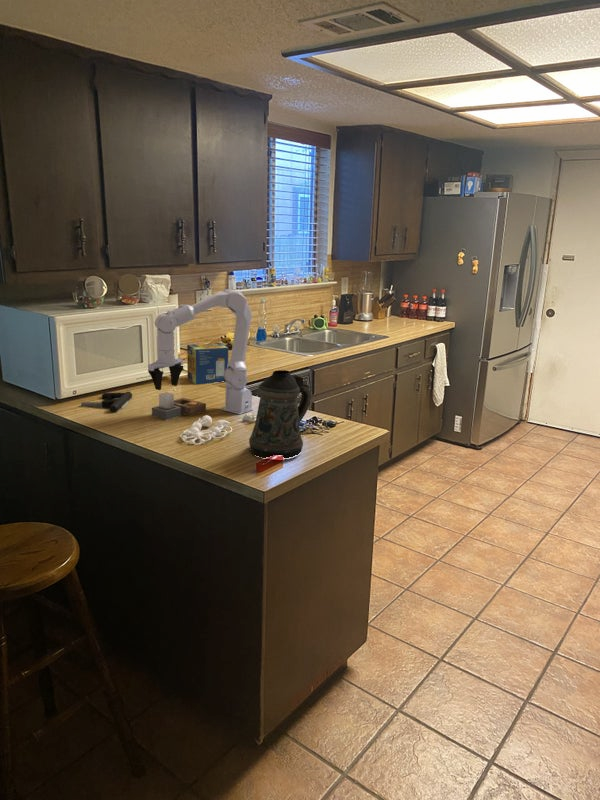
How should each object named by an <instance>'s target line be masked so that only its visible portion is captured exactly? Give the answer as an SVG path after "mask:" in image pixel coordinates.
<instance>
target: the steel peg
mask: <svg viewBox="0 0 600 800" xmlns="http://www.w3.org/2000/svg"><path fill="white" fill-rule="evenodd" d="M174 394H175V393H171V392H167V391H166V392H165V391H164V392H162V393H159V394H158V406H159V408H160V409H163V410H170V409H173V408H174V400H175V395H174Z"/></svg>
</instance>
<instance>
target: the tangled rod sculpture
mask: <svg viewBox="0 0 600 800" xmlns="http://www.w3.org/2000/svg"><path fill="white" fill-rule="evenodd" d="M212 422H213V419H212V417H211V416H210V415H204V416H202V417H198V420H196V421H194V422H193V423H192V425H191V426H189V427H188V428H187V429H185V430H184V431H183V430H182V433H181V434H179V438H181V440H182V441H183V442H184V443H188V444H190V445H191V444H193V445H197V446H200V445H204V444H205V443H206V442H209V441H211V440H212V439H222V438H225V436H226V435H227V434H230V433H232V432H233V428H232V426H230V425H231V422H229V421H227V420H225V419H219V420H217V421H216V422H215V424H213V423H212ZM212 424H213V425H212ZM211 425H212V426H211ZM202 426H203V427H210V426H211V427H210V428H209V429H208V428H207V430H205V429H204V430H202ZM225 428H230V430H229V431H227V430H226V429H225ZM221 434H223V435H222V436H220V435H221ZM203 438H206V440H205V439H203ZM188 439H190V440H188ZM197 440H199V443H196V441H197Z"/></svg>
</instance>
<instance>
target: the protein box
mask: <svg viewBox="0 0 600 800" xmlns="http://www.w3.org/2000/svg"><path fill="white" fill-rule="evenodd" d="M186 346H187V347H186V348H187V349H186V352H187V353H186V357H187V364H186V365H187V366H186V367H187V380H188V381H190V382H191V383H192V384H194V385H205V384H207V383H208V384H215V383H214V382H219V383H227V381H226V380H225V378H224V371H225V370H226V368H227V365H228V362H229V347H228V346H226V345H224V344H222V343H220V342H213V343H212V342H210V343H195V344H193V343H192V344H187V345H186ZM222 381H224V382H222Z"/></svg>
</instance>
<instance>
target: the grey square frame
mask: <svg viewBox="0 0 600 800" xmlns="http://www.w3.org/2000/svg"><path fill="white" fill-rule="evenodd" d="M151 416H152V417H153V418H158V419H160V420H161V419H162V420H164V421H168V420H171V418H172V419H173V418H174V417H175V418H178V417H181V416H182V414H181V407H178V406H174V408H173V409H170V410H163V409H160V408H159V405H156V406H153V407H151ZM175 418H174V419H175Z"/></svg>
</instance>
